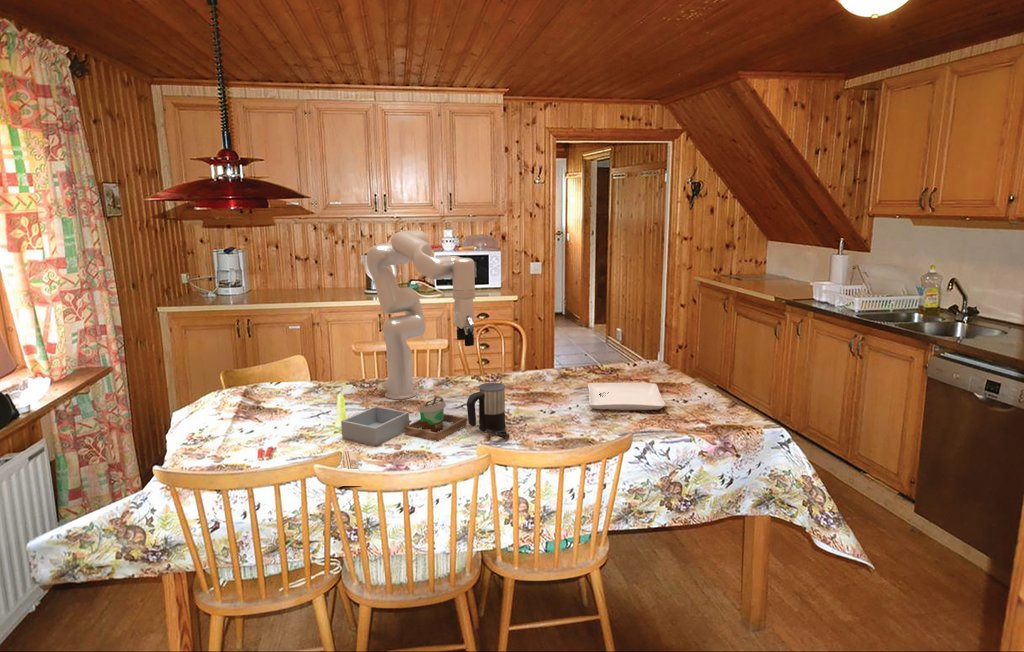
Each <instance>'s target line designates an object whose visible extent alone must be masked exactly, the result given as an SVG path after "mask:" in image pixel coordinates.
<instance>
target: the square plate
mask: <svg viewBox="0 0 1024 652" xmlns="http://www.w3.org/2000/svg"><path fill="white" fill-rule="evenodd" d="M587 388H588V396H589V397H588V405H589V406H590V407H591V408H592V409H595V410H605V409H609V410H608V411H652V410H653V411H654V410H657V411H658V410H661V409H662V408H663V407H666V402H665V401H664V398H663V397H662V395H661V392H660V390H659V387H658V384H657V383H652V382H651V383H648V382H646V383H645V382H589V383H587ZM599 392H600V393H603V392H605V393H606V394H605V393H604V394H605V395H606V396H605V395H604V394H603V395H604V396H605V397H604V396H603V397H602V396H601V397H600V395H599V394H600V393H599ZM608 392H609V393H608ZM607 393H608V394H607ZM618 409H620V410H618ZM622 409H623V410H622Z"/></svg>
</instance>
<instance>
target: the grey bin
mask: <svg viewBox="0 0 1024 652" xmlns="http://www.w3.org/2000/svg"><path fill="white" fill-rule="evenodd" d="M340 422H341V423H340V424H341V434H342V435H341V438H342V439H344V440H349V441H352V442H356V443H361V444H365V445H369V446H372V447H373V446H374V447H379V446H380V445H382V444H384V443H386V442H388V441H390V440H391V439H394V438H395V437H398V436H400V435H401V434H403V433H404V434H405V427H406V426H408V425H410V414H409V412H408V411H403V410H398V409H393V408H387V407H383V406H377V405H374V406H372V407H370V408H368V409H366V410H363V411H362V412H359V413H356V414H355V415H352V416H349V417H346V418H345V419H343V420H341V421H340Z"/></svg>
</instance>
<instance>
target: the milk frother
mask: <svg viewBox="0 0 1024 652" xmlns="http://www.w3.org/2000/svg"><path fill="white" fill-rule="evenodd" d="M505 389H506V384H504V383H499V382H486V383H481V384H479V385H478V390H479V391H477V392H473V393H471V394H469V397H468V398H467V400H466V409H467V423H468V425H469V426H472V427H475V426H477V417H476V416H477V415H476V414H477V413H476V402H477V401H478V424H479V425H478V428H479V430H480V431H482V432H484V433H487V434H490V435H493V436H495V437H496V436H497V437H499V438H501V439H504V440H505V439H506V438H509V437H510V433H509V432H507V431H506V429H507V425H506V405H505V404H506V402H505V401H506V400H505V399H506V397H505V396H506V393H505V392H506V391H505Z"/></svg>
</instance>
